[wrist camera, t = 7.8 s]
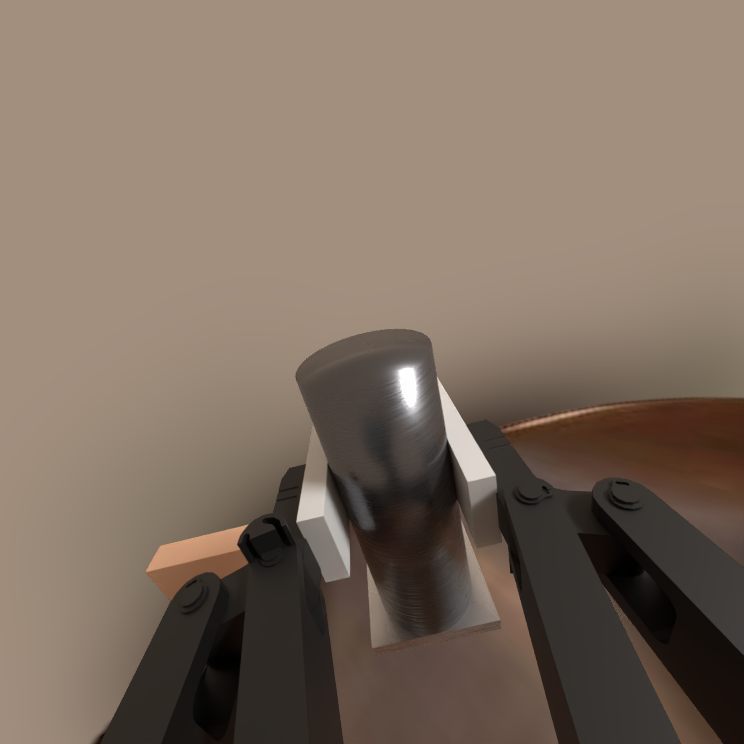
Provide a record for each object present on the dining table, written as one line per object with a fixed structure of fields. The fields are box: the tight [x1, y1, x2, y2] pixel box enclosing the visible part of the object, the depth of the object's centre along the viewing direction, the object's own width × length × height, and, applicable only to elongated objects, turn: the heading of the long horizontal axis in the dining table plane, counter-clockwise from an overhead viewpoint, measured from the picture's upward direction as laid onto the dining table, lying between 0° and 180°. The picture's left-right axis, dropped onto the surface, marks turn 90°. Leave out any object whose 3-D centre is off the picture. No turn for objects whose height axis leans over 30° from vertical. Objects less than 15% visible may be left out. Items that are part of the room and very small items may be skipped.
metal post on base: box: [296, 329, 501, 656], centre depth 14 cm, size 5×10×12 cm, turn 4°
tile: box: [146, 525, 248, 601], centre depth 25 cm, size 7×2×9 cm, turn 94°
